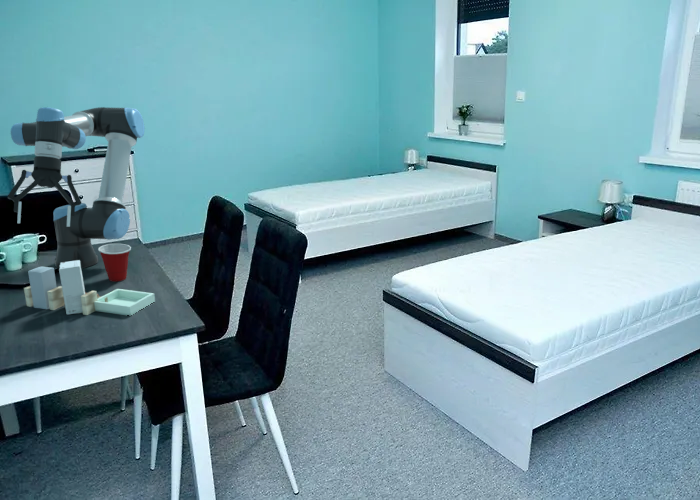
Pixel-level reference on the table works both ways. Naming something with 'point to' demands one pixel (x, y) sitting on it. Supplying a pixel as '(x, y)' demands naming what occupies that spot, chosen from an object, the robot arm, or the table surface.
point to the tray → (124, 302)
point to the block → (41, 285)
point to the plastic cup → (115, 260)
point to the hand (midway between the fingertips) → (43, 224)
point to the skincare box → (72, 286)
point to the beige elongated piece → (58, 300)
